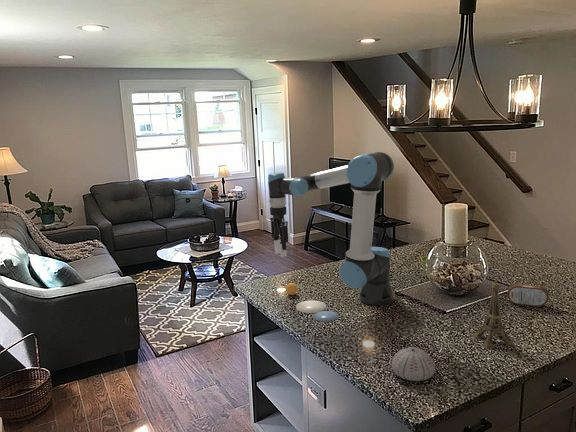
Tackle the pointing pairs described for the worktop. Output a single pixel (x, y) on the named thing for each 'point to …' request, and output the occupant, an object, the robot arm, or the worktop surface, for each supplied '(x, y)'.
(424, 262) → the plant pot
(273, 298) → the worktop surface
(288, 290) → the ball
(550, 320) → the worktop surface
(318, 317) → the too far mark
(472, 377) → the worktop surface
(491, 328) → the eiffel tower
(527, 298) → the tin
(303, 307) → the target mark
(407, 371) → the sea urchin shell
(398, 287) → the worktop surface
